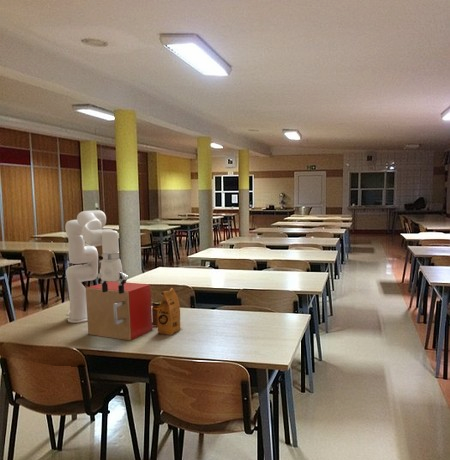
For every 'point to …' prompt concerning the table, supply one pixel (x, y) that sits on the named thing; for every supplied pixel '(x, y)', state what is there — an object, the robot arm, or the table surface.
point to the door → (108, 313)
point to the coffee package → (169, 313)
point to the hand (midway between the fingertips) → (113, 292)
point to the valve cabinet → (136, 306)
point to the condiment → (155, 313)
